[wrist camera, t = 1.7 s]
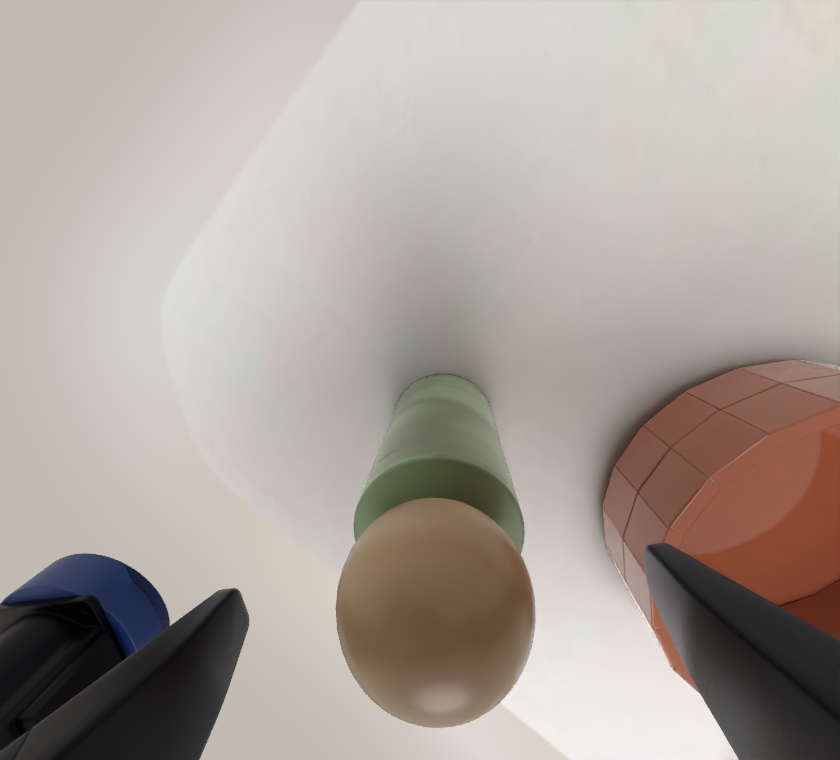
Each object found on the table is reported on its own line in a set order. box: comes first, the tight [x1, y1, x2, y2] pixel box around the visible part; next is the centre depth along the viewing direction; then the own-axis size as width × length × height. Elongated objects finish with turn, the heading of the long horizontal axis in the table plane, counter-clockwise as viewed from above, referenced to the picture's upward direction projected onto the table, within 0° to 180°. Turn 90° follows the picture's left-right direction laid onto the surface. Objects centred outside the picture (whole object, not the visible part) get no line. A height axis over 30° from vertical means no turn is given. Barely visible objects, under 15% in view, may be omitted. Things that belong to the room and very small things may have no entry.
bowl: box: [602, 360, 840, 693], centre depth 15 cm, size 13×13×5 cm
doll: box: [336, 374, 535, 728], centre depth 12 cm, size 4×4×12 cm
